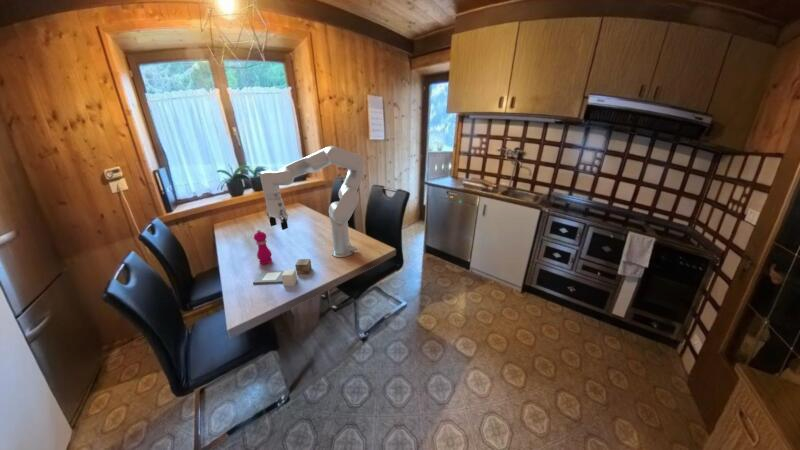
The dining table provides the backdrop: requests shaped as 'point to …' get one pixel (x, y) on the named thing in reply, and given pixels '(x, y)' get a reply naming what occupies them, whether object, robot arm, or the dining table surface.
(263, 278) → the pad
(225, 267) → the dining table surface
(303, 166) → the robot arm
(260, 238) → the pepper mill
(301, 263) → the walnut block
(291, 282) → the cream block
